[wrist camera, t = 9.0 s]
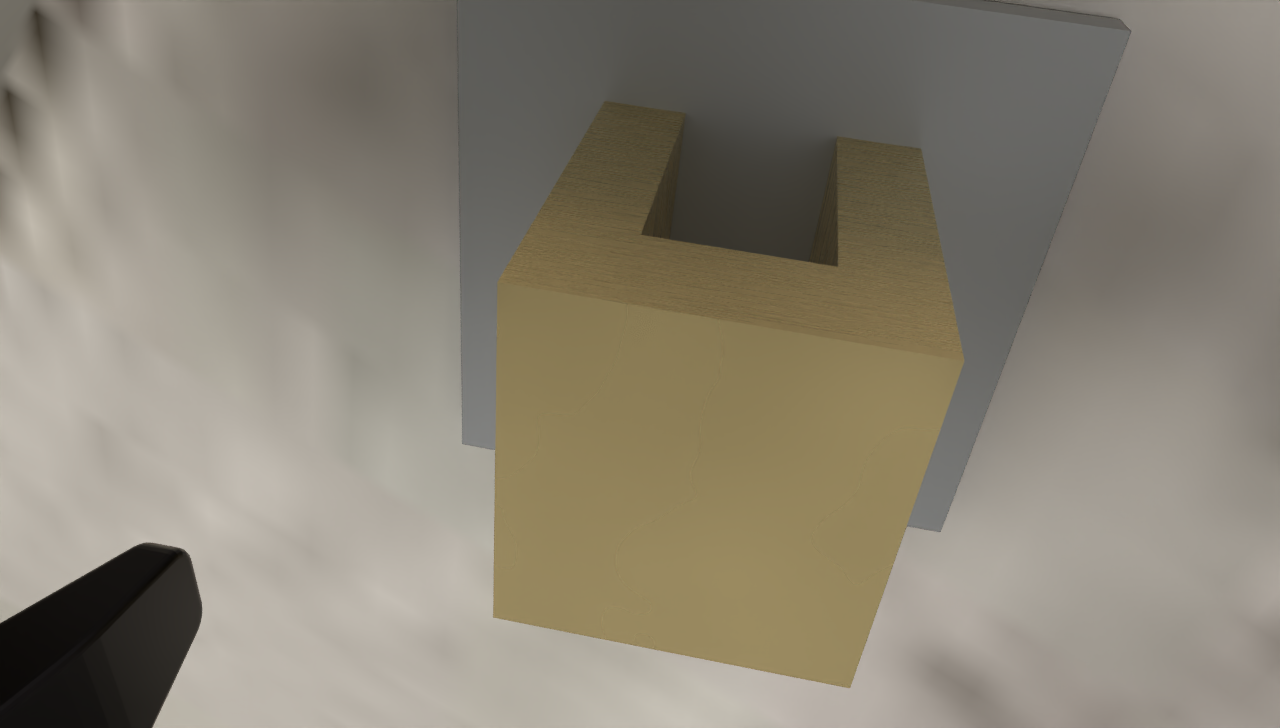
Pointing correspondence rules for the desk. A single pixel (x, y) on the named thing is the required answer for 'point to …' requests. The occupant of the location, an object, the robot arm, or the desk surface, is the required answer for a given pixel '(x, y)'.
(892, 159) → the slotted brass block
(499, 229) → the slate mat
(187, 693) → the desk surface
